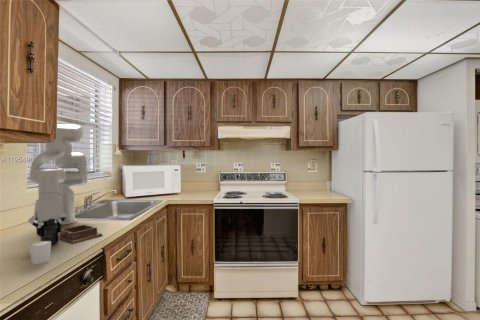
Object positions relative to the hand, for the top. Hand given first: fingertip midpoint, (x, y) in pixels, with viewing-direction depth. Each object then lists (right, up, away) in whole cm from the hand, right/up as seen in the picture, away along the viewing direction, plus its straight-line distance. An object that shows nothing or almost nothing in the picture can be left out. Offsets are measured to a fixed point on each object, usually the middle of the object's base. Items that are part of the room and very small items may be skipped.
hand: (49, 233), depth 124 cm
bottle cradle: (+7, -5, +11) cm, 14 cm away
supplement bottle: (0, -5, 0) cm, 5 cm away
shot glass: (+11, -5, -20) cm, 23 cm away
